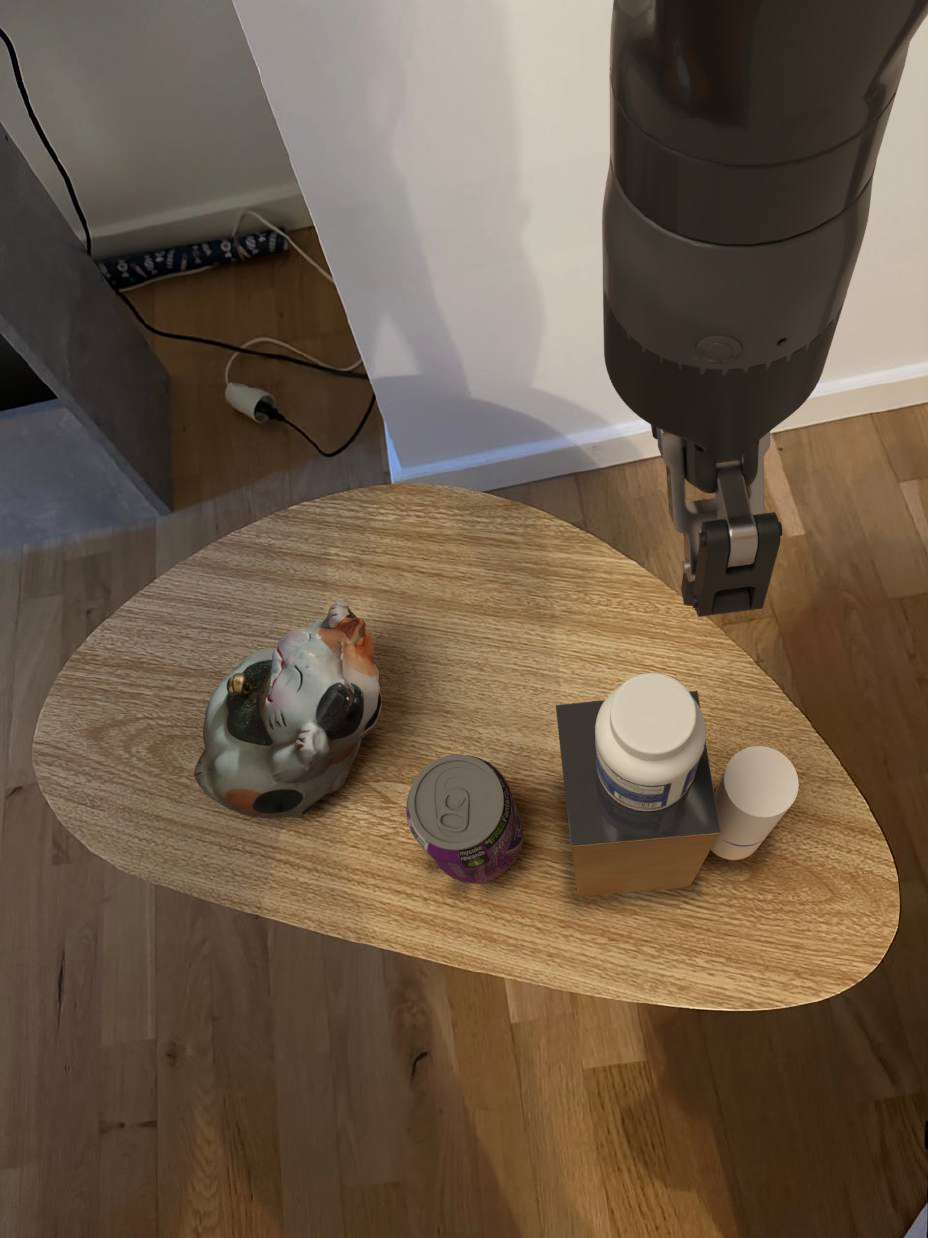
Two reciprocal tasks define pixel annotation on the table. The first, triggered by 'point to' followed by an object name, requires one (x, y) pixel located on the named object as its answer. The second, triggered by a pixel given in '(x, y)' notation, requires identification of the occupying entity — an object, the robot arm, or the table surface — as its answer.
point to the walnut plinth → (639, 865)
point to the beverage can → (465, 818)
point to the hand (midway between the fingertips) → (690, 510)
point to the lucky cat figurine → (291, 719)
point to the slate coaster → (601, 814)
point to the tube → (752, 799)
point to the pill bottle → (649, 741)
